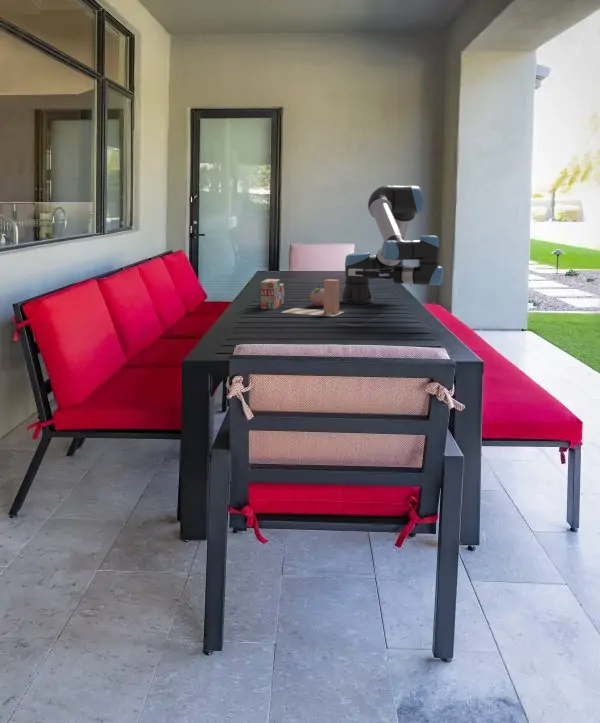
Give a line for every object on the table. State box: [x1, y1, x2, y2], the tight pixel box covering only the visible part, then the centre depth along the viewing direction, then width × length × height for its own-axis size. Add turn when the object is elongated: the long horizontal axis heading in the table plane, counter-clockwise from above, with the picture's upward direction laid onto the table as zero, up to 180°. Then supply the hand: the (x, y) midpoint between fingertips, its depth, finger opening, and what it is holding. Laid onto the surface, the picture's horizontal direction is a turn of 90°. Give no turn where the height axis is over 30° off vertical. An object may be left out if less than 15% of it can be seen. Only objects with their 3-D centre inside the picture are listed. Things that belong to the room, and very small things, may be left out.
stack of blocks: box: [260, 278, 285, 310], centre depth 348 cm, size 21×6×12 cm, turn 169°
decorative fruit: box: [309, 285, 324, 307], centre depth 343 cm, size 9×8×10 cm
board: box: [280, 307, 345, 317], centre depth 325 cm, size 24×14×1 cm, turn 67°
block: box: [323, 278, 341, 314], centre depth 321 cm, size 5×5×14 cm
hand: (349, 272), depth 316 cm, fingers closed
